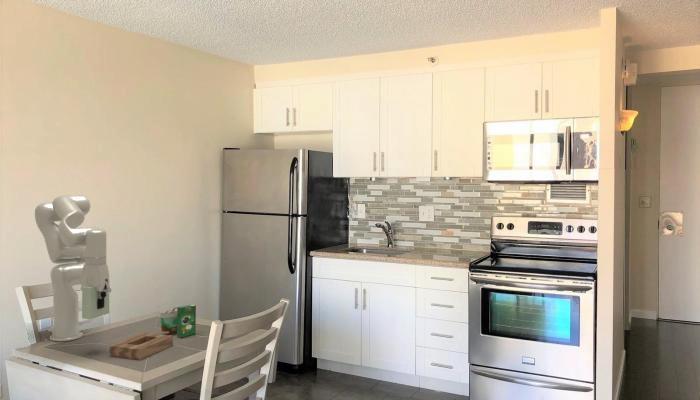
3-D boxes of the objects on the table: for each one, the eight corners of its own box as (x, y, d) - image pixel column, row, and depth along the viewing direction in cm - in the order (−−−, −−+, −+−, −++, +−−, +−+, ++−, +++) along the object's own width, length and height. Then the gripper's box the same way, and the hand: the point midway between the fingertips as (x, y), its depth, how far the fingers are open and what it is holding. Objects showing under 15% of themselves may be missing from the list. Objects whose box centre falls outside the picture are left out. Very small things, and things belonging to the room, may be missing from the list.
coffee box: (192, 333, 251) (192, 303, 250) (196, 334, 249) (196, 304, 248) (176, 336, 245) (176, 306, 244) (180, 338, 243) (180, 307, 242)
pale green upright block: (82, 318, 218) (82, 287, 217) (101, 312, 228) (101, 282, 227) (90, 319, 217) (90, 288, 216) (109, 313, 226) (109, 283, 226)
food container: (173, 337, 245) (172, 314, 244) (159, 336, 246) (159, 313, 245) (186, 329, 257) (186, 307, 256) (174, 328, 258) (174, 306, 258)
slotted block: (109, 356, 218) (109, 345, 218) (144, 341, 237) (144, 332, 237) (140, 360, 214) (140, 349, 214) (172, 345, 233) (172, 335, 233)
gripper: (71, 261, 220) (71, 307, 221) (106, 264, 215) (106, 312, 216) (85, 258, 227) (86, 303, 228) (120, 261, 222) (120, 307, 223)
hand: (95, 307), depth 222 cm, fingers closed on pale green upright block, 4 cm apart
